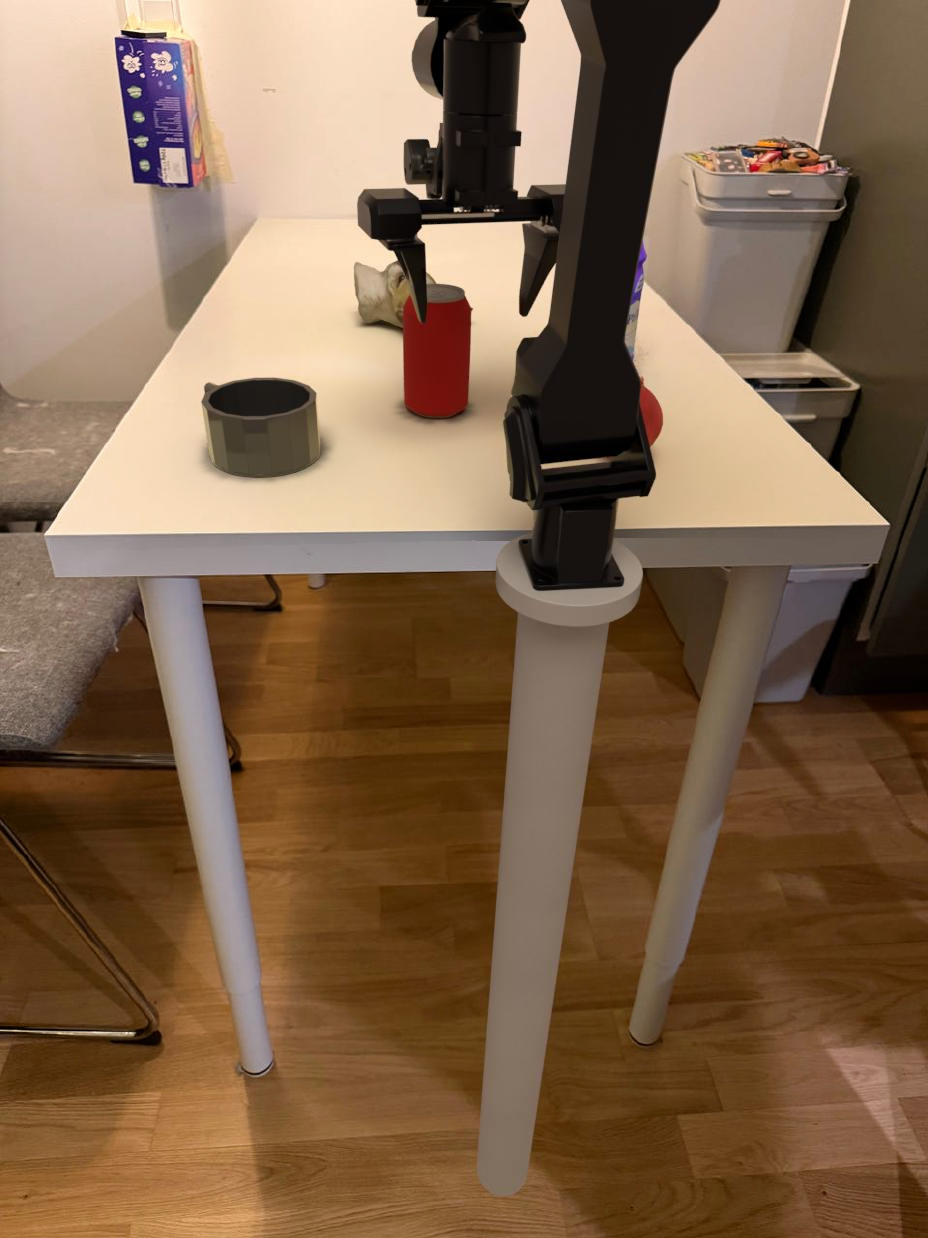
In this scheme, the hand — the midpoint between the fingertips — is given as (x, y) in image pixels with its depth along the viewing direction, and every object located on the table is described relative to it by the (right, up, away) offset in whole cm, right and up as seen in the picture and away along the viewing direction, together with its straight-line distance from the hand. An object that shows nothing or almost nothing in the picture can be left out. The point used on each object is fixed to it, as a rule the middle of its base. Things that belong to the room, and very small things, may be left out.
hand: (473, 318), depth 76 cm
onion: (+14, -11, +7) cm, 19 cm away
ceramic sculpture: (-8, +12, +38) cm, 41 cm away
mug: (-20, -10, +6) cm, 24 cm away
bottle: (+16, +3, +27) cm, 31 cm away
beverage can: (-4, -4, +16) cm, 17 cm away
